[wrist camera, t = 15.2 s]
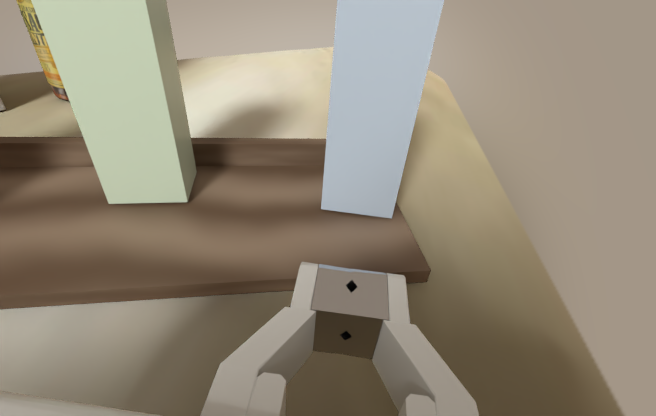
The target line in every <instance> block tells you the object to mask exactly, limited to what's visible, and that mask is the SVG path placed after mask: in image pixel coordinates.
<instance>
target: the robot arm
mask: <svg viewBox="0 0 656 416" xmlns="http://www.w3.org/2000/svg"><path fill="white" fill-rule="evenodd" d="M313 351H318V352H326V353H335V354H343V355H349V356H355V357H361V358H367V359H372V362H373V364H374V366H375V368H376V370H377V372H378V373H379V375H380V377H381V379H382V381H383V383H384V385H385V387H386V389H387V391H388V393H389V395H390V397H391V399H392V401H393V403H394V404H395V406H396V408H397V410H398V412H399V414H398V416H479V413H478V409H477V404H476V402H475V400H474V399H473V398H472V396H471V395H470V394H469V393H468V391H467V390H466V389H465V387H464V386H463V385H462V384H461V382H460V381H459V380H458V378H457V377H456V376H455V375H454V373H453V372H452V371H451V369H450V368H449V367H448V366H447V364H446V363H445V362H444V360H443V359H442V358H441V357H440V355H439V354H438V353H437V351H436V350H435V349H434V348H433V346H432V345H431V344H430V342H429V341H428V340H427V339H426V337H425V336H424V335H423V333H422V332H421V331H420V330H419V328H418V327H417V326H416V325H414V324H410V316H409V306H408V297H407V287H406V278H405V276H404V275H398V274H390V273H383V272H375V271H366V270H358V269H348V268H342V267H335V266H329V265H323V264H314V263H308V262H302V263H301V265H300V267H299V272H298V276H297V280H296V284H295V288H294V292H293V297H292V301H291V305H290V307H284V308H283V309H282V310H280V311H279V312H278V313H277V314H276V315H275V316H274V317H272V318H271V319H270V320H269V321H268V322H267V323H266V324H265V325H263V326H262V327H261V328H260V329H259V330H258V331H257V332H256V333H254V334H253V335H252V336H251V337H250V338H249V339H248V340H246V341H245V342H244V343H243V344H242V345H241V346H240V347H239V348H237V349H236V350H235V351H234V352H233V353H232V354H231V355H229V356H228V357H227V358H226V359H225V360H224V361H223V362H222V363H220V365H219V368H218V370H217V373H216V375H215V378H214V381H213V383H212V386H211V388H210V391H209V394H208V396H207V399H206V402H205V404H204V407H203V409H202V412H201V415H200V416H286V385H287V384H288V383H289V381H290V380H291V379H292V378H293V377H294V375H295V374H296V373H297V372H298V370H299V369H300V368H301V367H302V365H303V364H304V363H305V362H306V360H307V359H308V358H309V357H310V355H311V354H312V353H313ZM0 416H161V415H155V414H148V413H142V412H135V411H129V410H122V409H116V408H109V407H103V406H96V405H90V404H83V403H77V402H70V401H64V400H57V399H51V398H44V397H38V396H31V395H24V394H18V393H11V392H5V391H0Z"/></svg>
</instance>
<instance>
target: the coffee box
mask: <svg viewBox="0 0 656 416" xmlns="http://www.w3.org/2000/svg"><path fill="white" fill-rule="evenodd" d="M3 110H6V107H5V105H4V104H3V102H2V100H1V98H0V111H3Z"/></svg>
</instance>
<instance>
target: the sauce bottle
mask: <svg viewBox="0 0 656 416" xmlns="http://www.w3.org/2000/svg"><path fill="white" fill-rule="evenodd" d="M17 3H18V5H19V8H20V11H21V15H22V16H23V19H24V22H25V24H26V27H27V29H28V32H29V34H30V37H31V40H32V42H33V45H34V47H35V50H36V52H37V55H38V58H39V60H40V63H41V66H42V68H43V71H44V73H45V76H46V79H47V81H48V83H49V84H51V87H52V89H53V92H54V94H55V95H56V96H57V97H58V98H59V99H63V100H69V98H68V96H67V93H66V91H65V88H64V85H63V83H62V80H61V77H60V75H59V72H58V70H57V67H56V64H55V62H54V59H53V56H52V54H51V51H50V49H49V46H48V43H47V41H46V38H45V35H44V33H43V30H42V28H41V25H40V22H39V20H38V17H37V14H36V12H35V9H34V7H33V4H32V1H31V0H17Z"/></svg>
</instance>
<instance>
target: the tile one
mask: <svg viewBox="0 0 656 416" xmlns="http://www.w3.org/2000/svg"><path fill="white" fill-rule="evenodd" d="M31 1H32V4H33V7H34V9H35V12H36V14H37V17H38V20H39V22H40V25H41V28H42V30H43V33H44V35H45V38H46V41H47V43H48V46H49V49H50V51H51V54H52V56H53V59H54V62H55V64H56V67H57V70H58V72H59V75H60V77H61V80H62V83H63V85H64V88H65V91H66V93H67V96H68V98H69V101H70V104H71V106H72V109H73V112H74V114H75V117H76V119H77V122H78V125H79V127H80V130H81V133H82V135H83V138H84V140H85V143H86V146H87V148H88V151H89V154H90V156H91V159H92V161H93V164H94V167H95V169H96V172H97V175H98V177H99V180H100V182H101V185H102V188H103V190H104V193H105V196H106V198H107V201H108V203H109V204H128V203H173V202H188V199H189V196H190V193H191V189H192V186H193V183H194V179H195V176H196V173H197V171H196V165H195V159H194V154H193V148H192V142H191V137H190V131H189V126H188V120H187V114H186V109H185V103H184V98H183V92H182V86H181V81H180V75H179V69H178V64H177V58H176V53H175V47H174V41H173V36H172V31H171V25H170V19H169V13H168V8H167V2H166V0H31Z"/></svg>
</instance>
